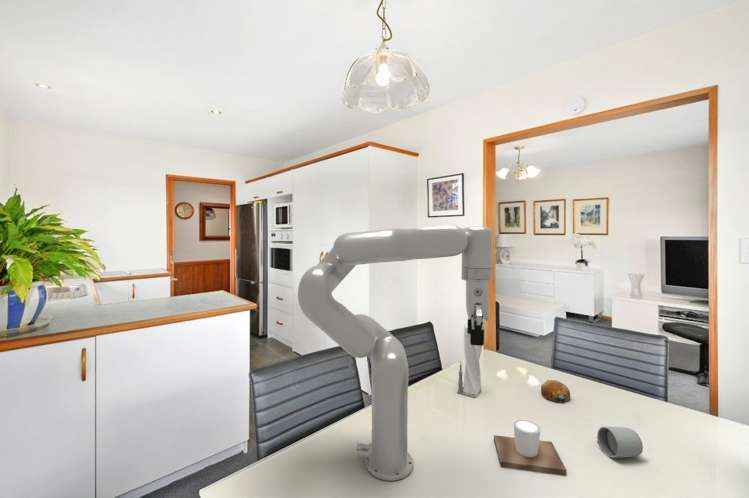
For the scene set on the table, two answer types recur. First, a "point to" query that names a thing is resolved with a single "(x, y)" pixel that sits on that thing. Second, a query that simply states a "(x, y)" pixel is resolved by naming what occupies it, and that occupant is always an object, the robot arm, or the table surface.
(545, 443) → the walnut board
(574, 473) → the table surface
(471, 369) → the skyscraper
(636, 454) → the ceramic mug
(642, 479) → the table surface
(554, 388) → the bread roll
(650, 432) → the table surface
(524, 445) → the white short cylinder
